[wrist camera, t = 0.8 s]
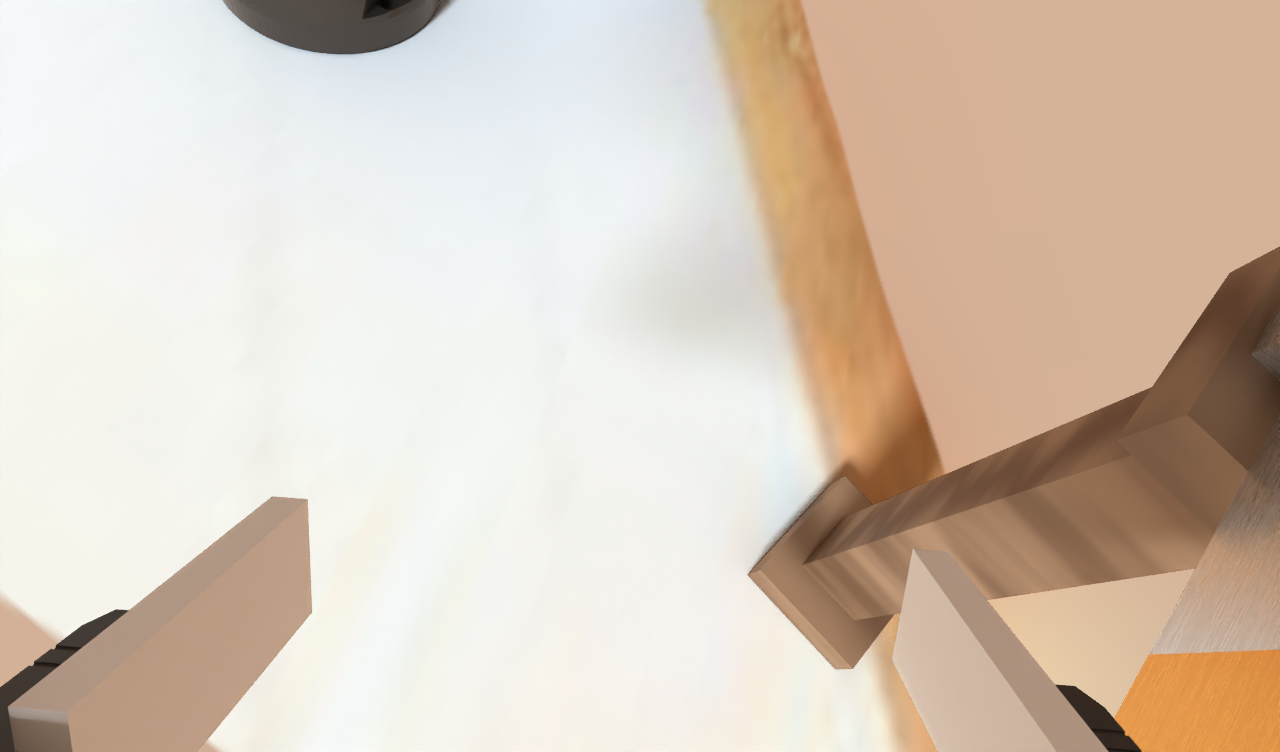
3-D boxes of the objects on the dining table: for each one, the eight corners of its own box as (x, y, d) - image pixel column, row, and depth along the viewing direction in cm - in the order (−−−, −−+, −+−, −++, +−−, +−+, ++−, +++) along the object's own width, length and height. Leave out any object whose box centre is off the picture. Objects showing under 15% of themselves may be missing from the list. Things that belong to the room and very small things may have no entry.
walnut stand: (829, 484, 45) (1299, 235, 20) (912, 569, 44) (1515, 422, 19) (747, 574, 42) (1186, 414, 17) (835, 669, 41) (1442, 651, 16)
